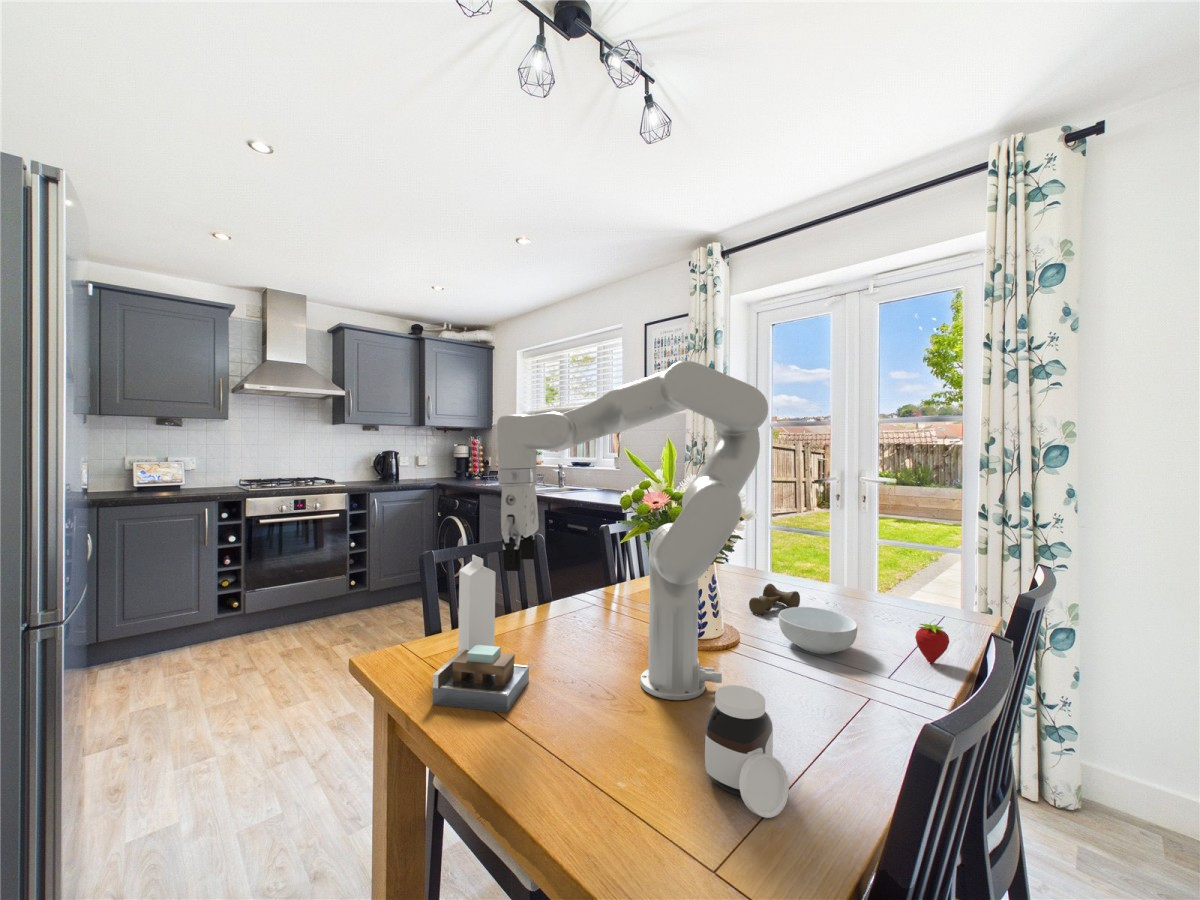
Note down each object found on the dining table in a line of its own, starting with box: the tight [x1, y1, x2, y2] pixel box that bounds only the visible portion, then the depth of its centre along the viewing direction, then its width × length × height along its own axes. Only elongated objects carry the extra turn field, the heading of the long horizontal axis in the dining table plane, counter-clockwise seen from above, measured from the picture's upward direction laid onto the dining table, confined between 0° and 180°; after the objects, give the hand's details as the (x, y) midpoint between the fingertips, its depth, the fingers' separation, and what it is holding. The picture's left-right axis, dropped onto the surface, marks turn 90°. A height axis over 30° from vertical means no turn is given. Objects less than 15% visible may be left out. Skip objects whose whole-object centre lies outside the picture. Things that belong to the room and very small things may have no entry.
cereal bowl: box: [778, 606, 858, 655], centre depth 117 cm, size 17×17×7 cm
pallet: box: [453, 650, 516, 686], centre depth 94 cm, size 10×6×4 cm, turn 80°
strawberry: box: [914, 618, 950, 664], centre depth 110 cm, size 6×8×10 cm
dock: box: [432, 648, 530, 714], centre depth 94 cm, size 14×12×5 cm
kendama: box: [748, 583, 801, 616], centre depth 147 cm, size 6×10×20 cm
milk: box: [457, 554, 496, 653], centre depth 110 cm, size 6×6×22 cm
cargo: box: [467, 645, 502, 663], centre depth 94 cm, size 5×4×2 cm
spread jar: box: [704, 684, 790, 819], centre depth 68 cm, size 12×11×12 cm
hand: (520, 564), depth 98 cm, fingers open, 9 cm apart
